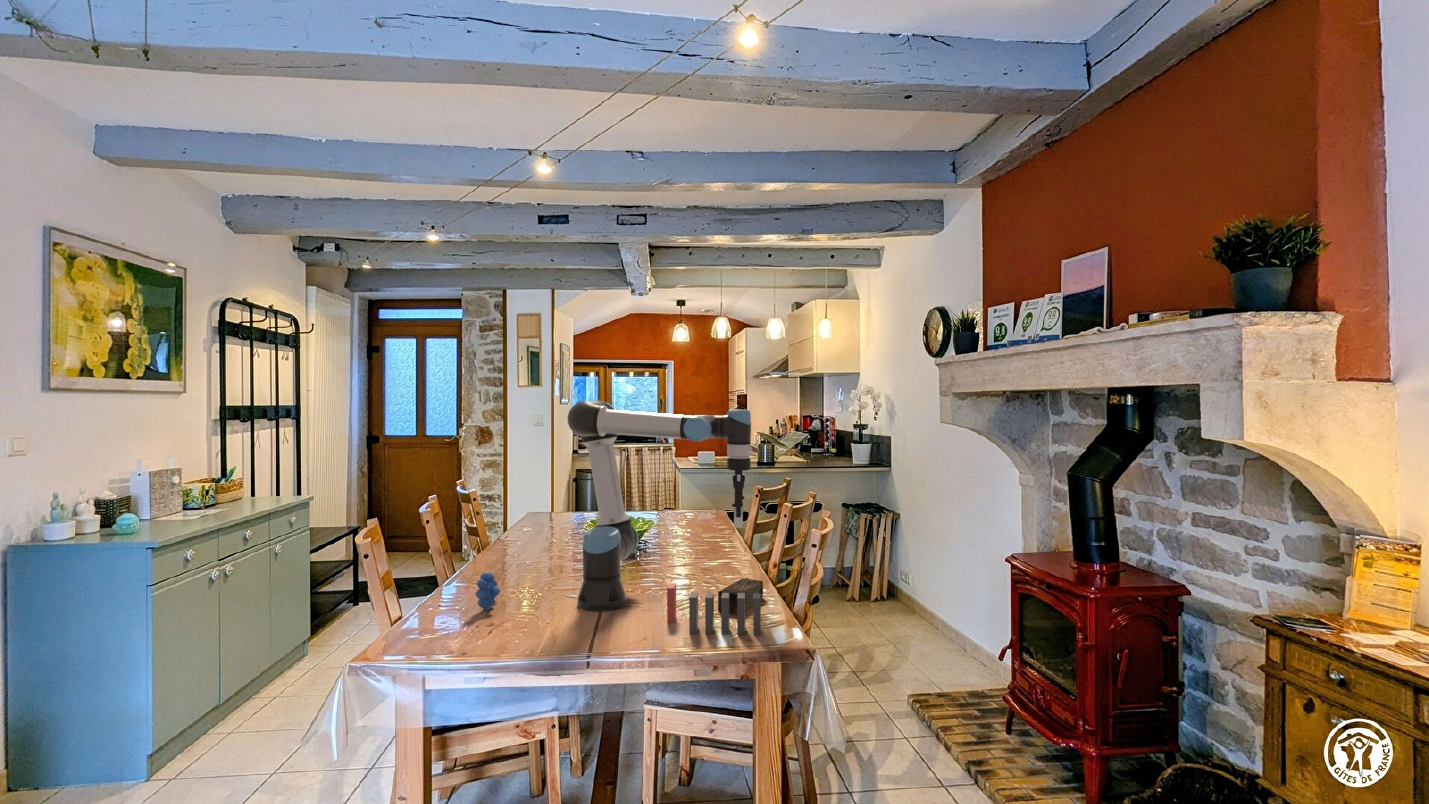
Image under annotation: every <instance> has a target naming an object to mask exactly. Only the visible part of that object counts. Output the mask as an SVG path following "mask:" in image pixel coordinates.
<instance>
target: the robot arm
mask: <svg viewBox="0 0 1429 804" xmlns="http://www.w3.org/2000/svg"><path fill="white" fill-rule="evenodd" d="M566 419H567V424H568V428H569V429H570V430H571V432H573V433H574V434H575V435H576V436H580V437H581V443H582V444H583V445H584V446H585V447H586V448H587V450H588V456H589V457H588V458H589V463H590V469H591V474H592V480H593V486H594V487H593V488H594V492H595V497H596V498H595V499H596V504H597V509H598V516H599V519H598V520H597V522H596V523H595V527H594V528H590V529H589V530H587V531H585V532H584V534H583V536H582V544H581V545H582V584H581V586H580V590H579V592H578V596H577V608H579V609H581V610H584V611H591V612H605V611H612V610H617V609H621V608H622V607H623V606H625V605H626V604H627V595H626V592H625V588H624V585H623V583H622V580H621V562H622V561H624V560H626V559H628V558H630V557H631V556H632V555H633V554H634V552H635V551H636V549H637V547H638V545H639V534H638V532H637V529H636V528H635V527H634V526H633V524H632V520H631V519H632V518H631V516H630V515H628V514H626V510H625V505H624V500H623V499H624V498H623V493H622V488H621V487H622V486H621V483H620V482H621V481H620V474H619V471H618V470H619V469H618V464H617V459H616V458H617V457H616V453H615V447H614V443H615V441H616V440H617V438H618V437H617V436H618V435H621V436H622V435H625V436H635V437H636V436H637V437H649V438H662V439H675V440H684V441H686V440H687V441H692V442H698V443H699V442H703V441H706V440H709V439H726V440H727V442H726V456H727V460H726V468H727V470H730V471H734V474H733V475H732V482H733V484H732V486H733V487H732V488H733V489H734V502H733V503H732V504H731V506H732V508H733V528H734V529H737V528H738V529H739V528H740V529H743V528H744V527H743V526H744V524H743V523H744V522H743V521H744V520H743V518H744V515H743V514H744V511H743V510H744V507H743V505H744V503H743V500H745V495H743V493H744V489H745V482H746V475H745V474H743V472H744V471H750V470H751V469H752V468H751V458H750V457H751V451H752V450H753V447H752V446H751V442H752V440H751V437H752V436H751V435H752V420H751V412H750V410H748V409H733V408H732V409H728V410H727V413H726V414H725V415H714V414H713V415H712V414H695V415H690V414H689V415H687V414H686V415H684V414H673V413H663V412H662V413H658V412H647V411H646V412H644V411H635V410H633V411H631V410H621V409H620V410H619V409H615V407H614V406H613V405H611V404H610V403H609V402H606V401H603V400H588V401H587V400H584V401H583V400H582V401H579V402H577V403H575V404H574V405H573V406H572V407H571V408H570V409H569V411H568V414H567V418H566Z"/></svg>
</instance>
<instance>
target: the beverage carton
mask: <svg viewBox="0 0 1429 804" xmlns="http://www.w3.org/2000/svg"><path fill="white" fill-rule="evenodd" d="M722 593H729V614H735V615H737V596H738V593H745V611H747V610H748V609H749V608H751V607H753V593H761V600H762V599H763V597H764V581H763V580H758V579H752V578H749V577H744V578H743V577H742V578H741V579H739V580H736V581H735V582H733V583H731V584H729V585H727V586H726V587H724V588H722V589H721V590H719V591H718V594H717V595H718V596H717V611H718V612H721V596H722Z"/></svg>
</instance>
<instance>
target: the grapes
mask: <svg viewBox="0 0 1429 804" xmlns="http://www.w3.org/2000/svg"><path fill="white" fill-rule="evenodd" d="M479 578H480V579H478V581H476V586H477V587H478V589H477V590H476V592H475V596H476V598H477V599H478V600H477V602H476V603H477V605H478V606H479V608H482V609H483V610H484V611H486V612H488V611H489V610H491V608H492V607H494V606H495V604H496V603H497V601H496V599H495V598H496V597H498V596H499V595H500V594H501V589H500V588H499V587H498V581H497V580H496V579H495V578H496V577H495V576H494V574H493V573H492V572H482V574H481V575H480V577H479Z"/></svg>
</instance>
